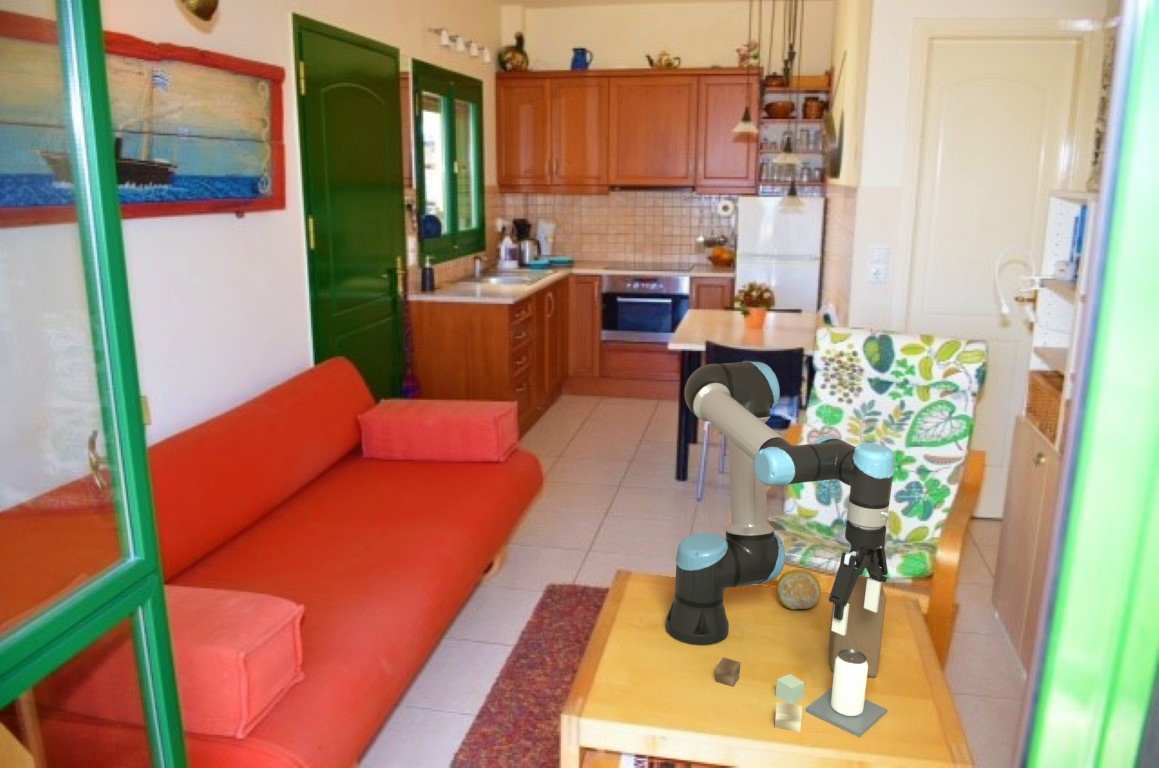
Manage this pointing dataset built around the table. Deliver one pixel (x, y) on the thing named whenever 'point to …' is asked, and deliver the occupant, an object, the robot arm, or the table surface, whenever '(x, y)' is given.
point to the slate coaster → (850, 724)
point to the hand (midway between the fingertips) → (855, 620)
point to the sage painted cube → (790, 689)
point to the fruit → (798, 589)
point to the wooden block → (860, 628)
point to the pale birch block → (788, 717)
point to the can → (849, 682)
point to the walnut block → (728, 672)
